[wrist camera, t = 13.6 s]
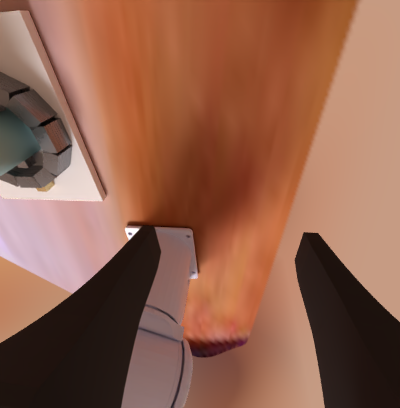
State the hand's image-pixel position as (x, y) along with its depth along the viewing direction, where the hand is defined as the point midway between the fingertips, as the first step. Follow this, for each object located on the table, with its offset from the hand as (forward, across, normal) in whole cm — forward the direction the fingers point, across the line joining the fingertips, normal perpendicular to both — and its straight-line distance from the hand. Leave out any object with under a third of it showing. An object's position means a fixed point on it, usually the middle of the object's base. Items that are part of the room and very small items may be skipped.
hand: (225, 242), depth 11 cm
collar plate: (+10, +19, -2) cm, 22 cm away
